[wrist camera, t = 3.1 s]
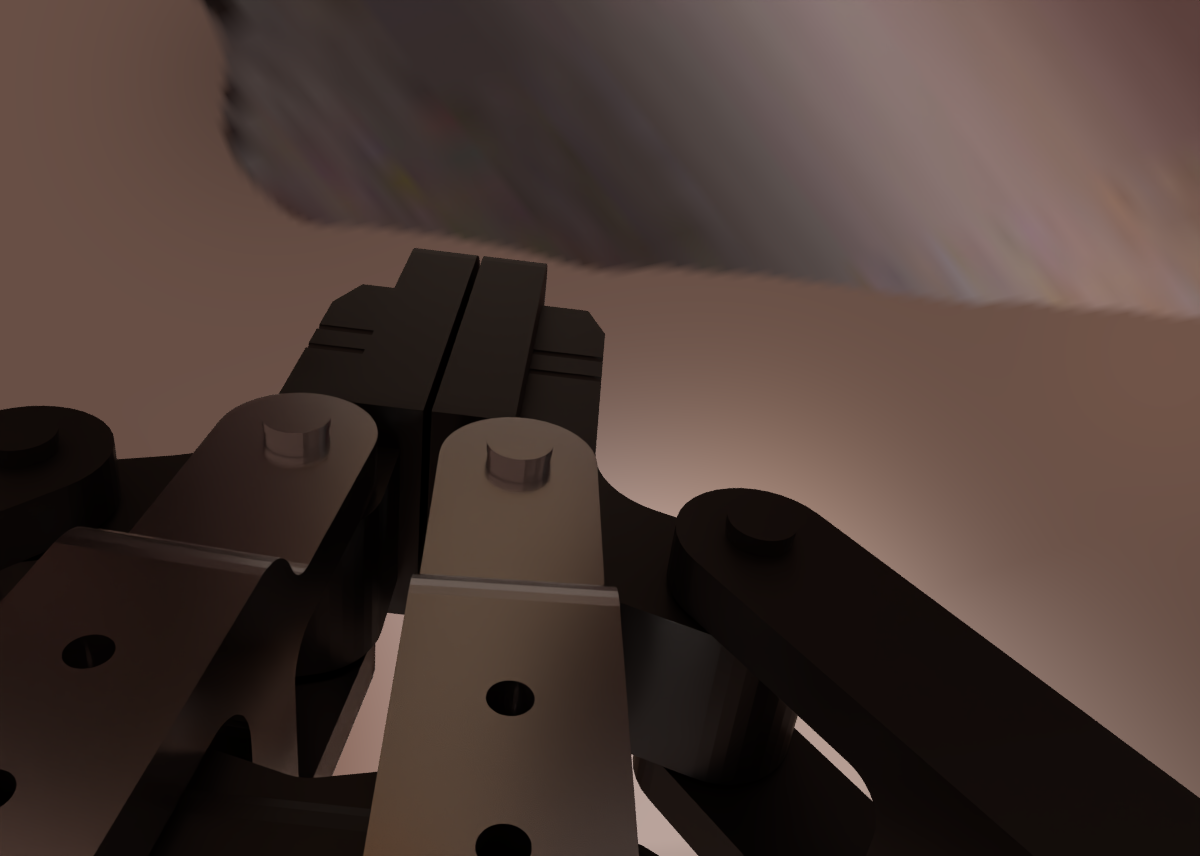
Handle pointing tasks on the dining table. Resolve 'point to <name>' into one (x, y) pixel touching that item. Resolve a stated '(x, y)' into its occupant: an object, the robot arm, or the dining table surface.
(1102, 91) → the dining table surface
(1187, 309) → the dining table surface
